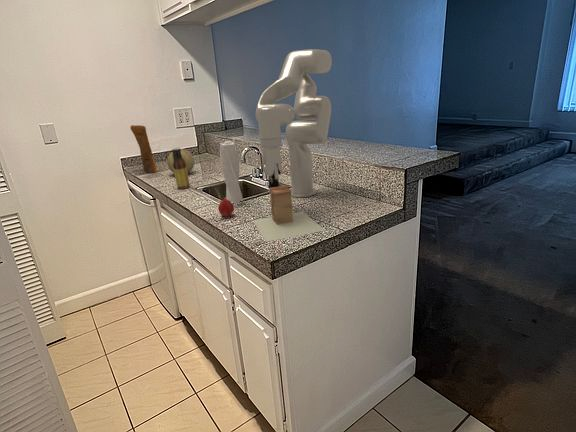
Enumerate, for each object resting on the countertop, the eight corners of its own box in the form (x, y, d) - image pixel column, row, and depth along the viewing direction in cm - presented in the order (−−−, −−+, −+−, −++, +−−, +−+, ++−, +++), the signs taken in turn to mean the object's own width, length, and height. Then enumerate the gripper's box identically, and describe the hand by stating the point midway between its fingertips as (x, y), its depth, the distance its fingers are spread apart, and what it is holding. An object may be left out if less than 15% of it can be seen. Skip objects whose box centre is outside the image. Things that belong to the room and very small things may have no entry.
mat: (252, 221, 132) (252, 220, 132) (303, 212, 137) (303, 211, 137) (266, 243, 114) (266, 241, 114) (324, 231, 119) (324, 230, 119)
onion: (216, 217, 138) (213, 198, 135) (228, 213, 142) (226, 194, 139) (225, 221, 134) (222, 201, 131) (237, 216, 138) (235, 197, 135)
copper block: (272, 219, 132) (269, 187, 128) (287, 216, 133) (285, 185, 129) (276, 224, 126) (274, 192, 122) (292, 221, 128) (290, 189, 124)
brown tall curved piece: (149, 174, 212) (139, 126, 201) (138, 170, 226) (128, 124, 215) (160, 172, 215) (151, 125, 205) (149, 167, 229) (140, 123, 219)
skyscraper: (248, 201, 155) (241, 136, 145) (237, 207, 149) (229, 139, 138) (233, 199, 159) (225, 135, 149) (221, 205, 153) (212, 139, 143)
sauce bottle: (183, 185, 185) (177, 146, 178) (192, 186, 182) (186, 147, 174) (174, 189, 180) (167, 149, 172) (183, 190, 176) (176, 150, 169)
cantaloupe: (197, 175, 204) (193, 148, 198) (170, 179, 199) (165, 152, 193) (193, 169, 217) (189, 145, 211) (168, 173, 212) (164, 148, 206)
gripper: (255, 140, 133) (260, 188, 139) (265, 147, 119) (270, 199, 126) (275, 138, 135) (278, 185, 141) (287, 144, 121) (290, 196, 128)
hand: (274, 191), depth 134 cm, fingers closed
